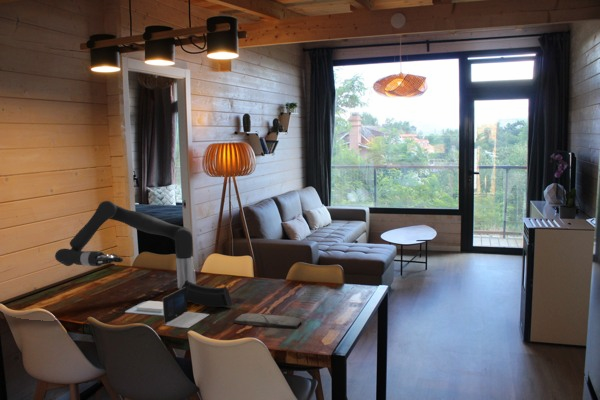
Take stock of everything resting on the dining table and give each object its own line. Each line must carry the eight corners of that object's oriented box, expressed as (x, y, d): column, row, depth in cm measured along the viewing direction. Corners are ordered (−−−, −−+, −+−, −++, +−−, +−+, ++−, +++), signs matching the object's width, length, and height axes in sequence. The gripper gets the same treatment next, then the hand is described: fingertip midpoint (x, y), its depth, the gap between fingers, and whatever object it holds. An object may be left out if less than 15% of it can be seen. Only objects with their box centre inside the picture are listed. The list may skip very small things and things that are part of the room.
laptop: (187, 329, 231) (186, 300, 229) (164, 326, 235) (162, 298, 234) (209, 315, 247) (208, 288, 246) (186, 313, 252) (185, 286, 250)
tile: (136, 307, 255) (161, 309, 251) (148, 300, 265) (172, 302, 261) (136, 310, 256) (162, 312, 251) (148, 303, 265) (173, 305, 261)
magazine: (236, 290, 255) (188, 267, 267) (232, 292, 252) (183, 268, 264) (229, 321, 259) (182, 297, 271) (225, 323, 256) (178, 299, 268)
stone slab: (296, 325, 225) (233, 316, 235) (296, 332, 225) (233, 323, 235) (304, 317, 235) (243, 309, 245) (304, 324, 235) (243, 316, 245)
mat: (124, 312, 254) (124, 311, 254) (144, 302, 269) (144, 301, 269) (163, 315, 248) (162, 314, 248) (180, 304, 263) (180, 304, 263)
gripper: (82, 254, 259) (112, 255, 254) (100, 248, 271) (129, 249, 266) (84, 269, 260) (114, 270, 255) (101, 262, 272) (130, 263, 267)
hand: (121, 259), depth 260 cm, fingers closed
